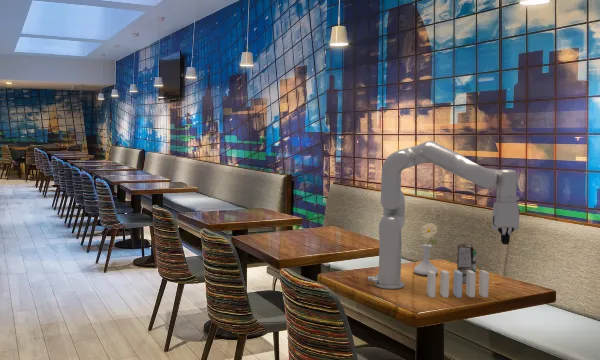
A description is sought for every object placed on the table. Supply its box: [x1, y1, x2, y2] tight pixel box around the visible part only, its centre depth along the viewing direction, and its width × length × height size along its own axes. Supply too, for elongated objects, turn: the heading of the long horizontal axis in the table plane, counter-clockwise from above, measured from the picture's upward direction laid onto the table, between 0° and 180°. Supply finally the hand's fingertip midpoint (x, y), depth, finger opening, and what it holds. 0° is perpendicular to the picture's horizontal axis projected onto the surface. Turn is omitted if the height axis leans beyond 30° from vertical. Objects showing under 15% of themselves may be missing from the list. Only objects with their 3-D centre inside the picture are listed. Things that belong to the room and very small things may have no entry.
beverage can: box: [472, 247, 477, 273], centre depth 283 cm, size 8×8×12 cm
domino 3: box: [452, 269, 463, 298], centre depth 244 cm, size 2×5×10 cm, turn 2°
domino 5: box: [478, 269, 490, 298], centre depth 245 cm, size 2×5×10 cm, turn 3°
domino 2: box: [439, 269, 450, 298], centre depth 244 cm, size 2×5×10 cm, turn 3°
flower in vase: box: [413, 222, 439, 276], centre depth 279 cm, size 13×11×25 cm
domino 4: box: [465, 270, 477, 298], centre depth 244 cm, size 2×5×10 cm, turn 3°
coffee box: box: [456, 243, 474, 284], centre depth 268 cm, size 9×6×16 cm
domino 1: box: [426, 270, 437, 298], centre depth 243 cm, size 2×5×10 cm, turn 3°
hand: (505, 243), depth 244 cm, fingers closed
